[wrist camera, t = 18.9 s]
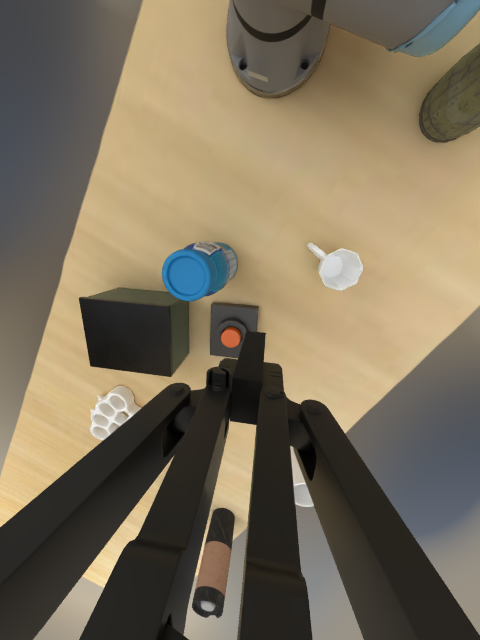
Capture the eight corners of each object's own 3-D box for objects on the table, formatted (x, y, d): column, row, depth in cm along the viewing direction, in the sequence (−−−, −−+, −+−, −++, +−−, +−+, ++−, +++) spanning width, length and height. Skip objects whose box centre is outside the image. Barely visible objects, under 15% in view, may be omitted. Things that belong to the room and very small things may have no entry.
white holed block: (130, 444, 69) (87, 418, 68) (156, 405, 63) (109, 376, 62) (123, 454, 66) (78, 427, 65) (149, 413, 60) (100, 383, 59)
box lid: (93, 364, 49) (90, 366, 48) (82, 296, 44) (78, 297, 43) (173, 374, 47) (171, 377, 46) (170, 305, 42) (168, 306, 42)
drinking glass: (316, 439, 60) (329, 500, 45) (294, 449, 62) (300, 511, 47) (301, 421, 58) (310, 478, 44) (278, 432, 60) (280, 490, 46)
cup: (329, 290, 47) (340, 299, 40) (292, 258, 46) (296, 261, 39) (356, 263, 45) (373, 267, 38) (318, 228, 44) (328, 226, 36)
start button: (222, 325, 49) (221, 328, 47) (241, 327, 49) (240, 330, 47) (222, 343, 50) (220, 346, 49) (240, 345, 50) (239, 348, 48)
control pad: (213, 302, 51) (208, 306, 48) (258, 306, 50) (257, 311, 47) (212, 350, 55) (207, 358, 52) (254, 355, 54) (252, 364, 51)
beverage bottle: (246, 269, 48) (230, 287, 29) (214, 290, 51) (180, 319, 32) (224, 233, 47) (192, 227, 28) (191, 256, 49) (141, 266, 30)
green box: (125, 345, 58) (97, 364, 49) (118, 287, 53) (86, 297, 44) (189, 352, 56) (173, 374, 47) (188, 293, 52) (170, 305, 42)
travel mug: (218, 503, 72) (199, 596, 53) (239, 514, 72) (228, 610, 54) (208, 517, 75) (186, 609, 56) (229, 527, 75) (214, 622, 56)
